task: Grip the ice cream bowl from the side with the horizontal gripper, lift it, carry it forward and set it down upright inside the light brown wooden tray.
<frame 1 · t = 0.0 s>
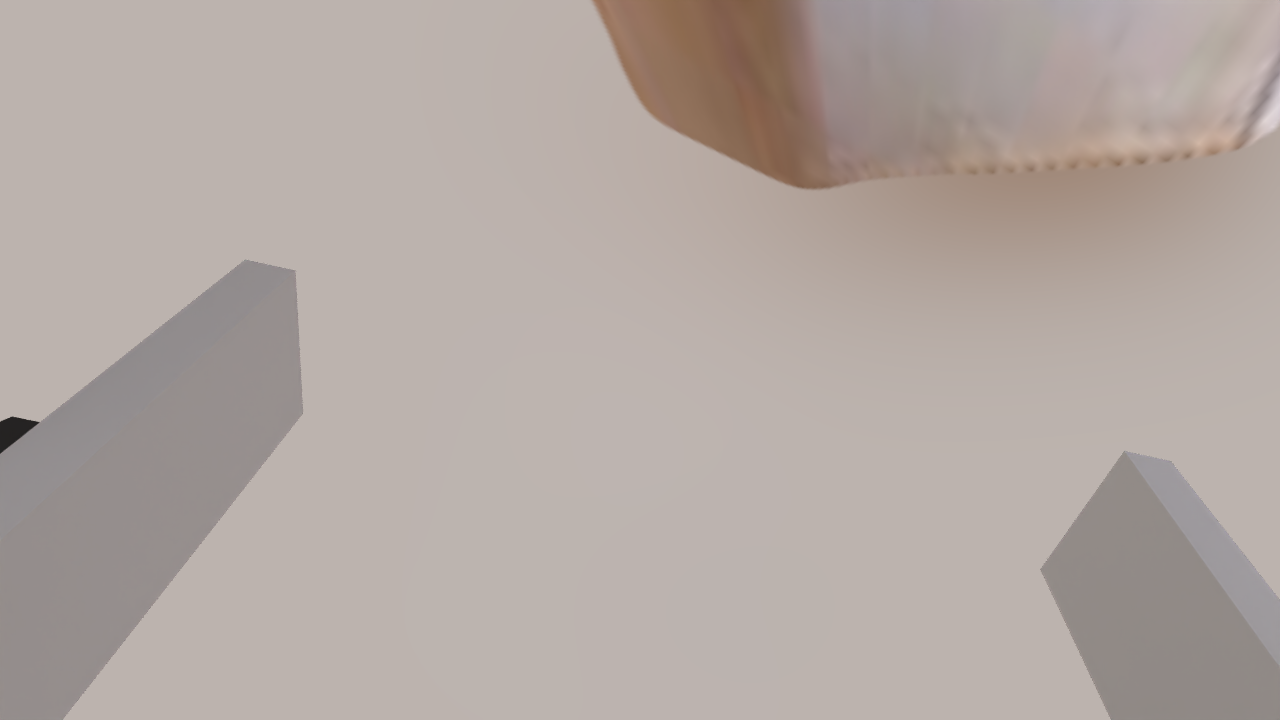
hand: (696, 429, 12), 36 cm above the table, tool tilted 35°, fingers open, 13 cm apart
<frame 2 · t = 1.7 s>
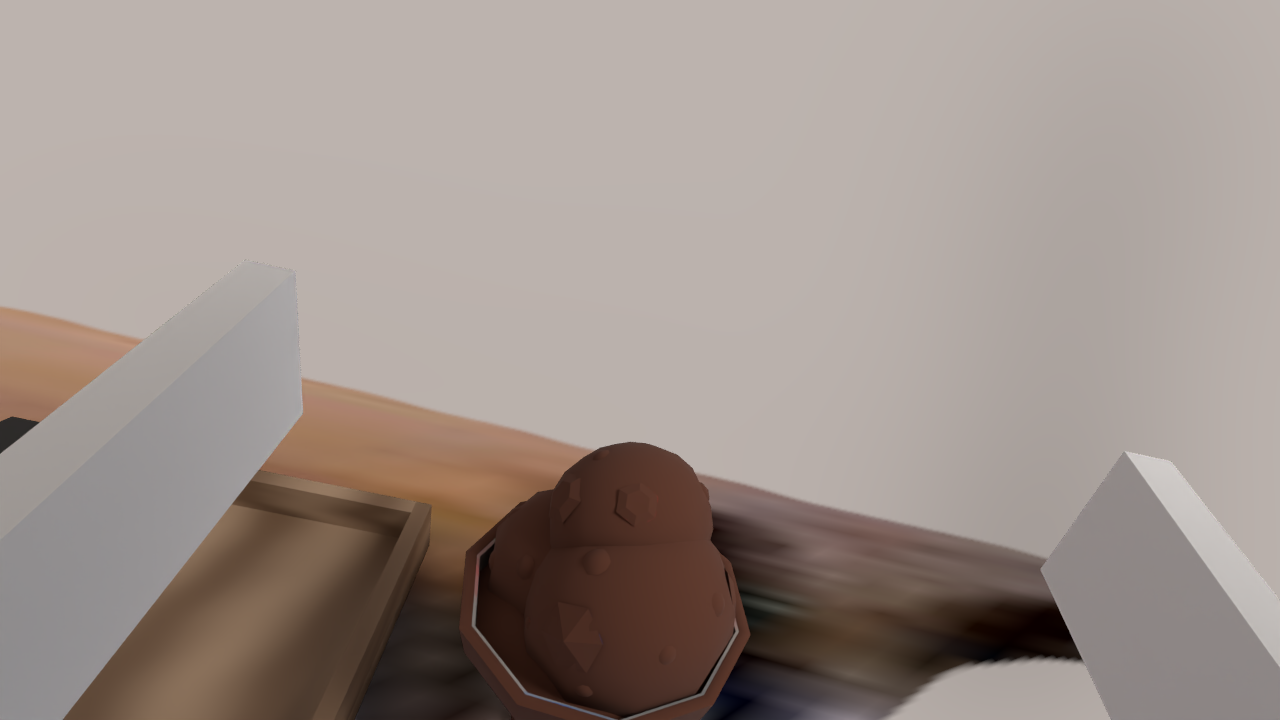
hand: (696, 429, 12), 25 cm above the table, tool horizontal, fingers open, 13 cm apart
light brown wooden tray: (165, 654, 33), on the table
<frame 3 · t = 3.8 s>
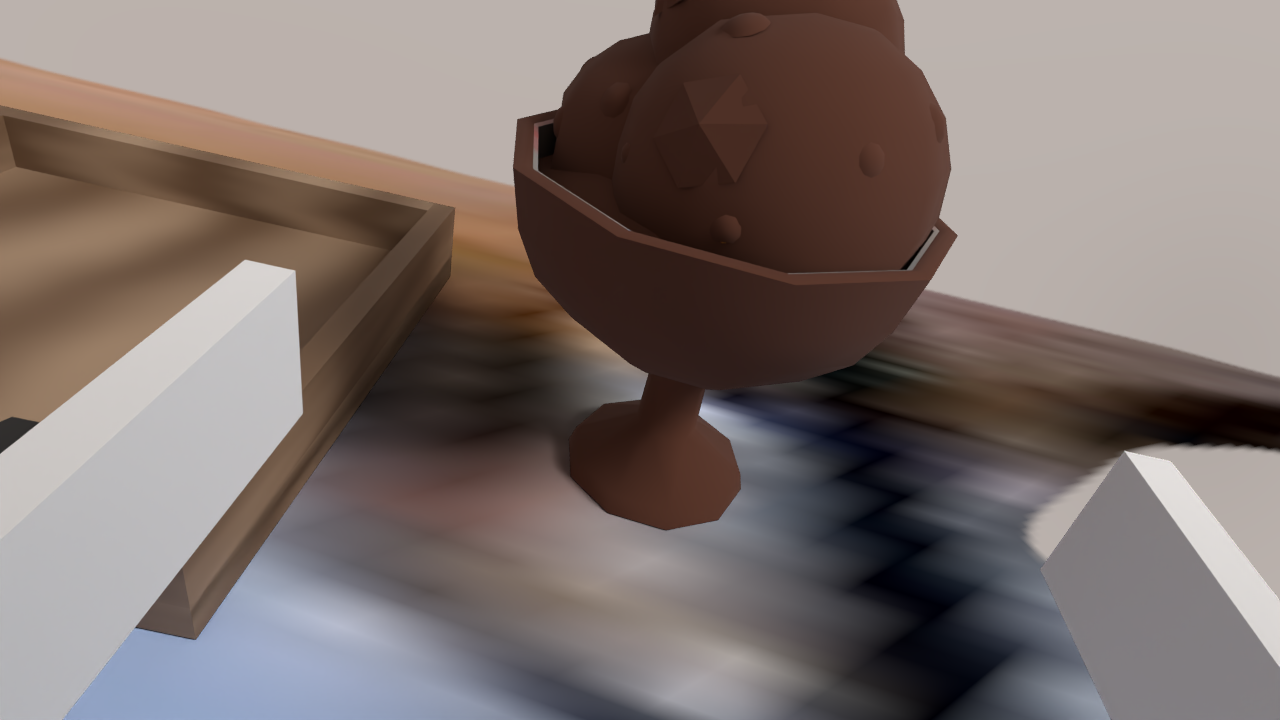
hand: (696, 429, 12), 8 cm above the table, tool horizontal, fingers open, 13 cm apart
light brown wooden tray: (79, 338, 23), on the table
ice cream bowl: (652, 468, 24), on the table
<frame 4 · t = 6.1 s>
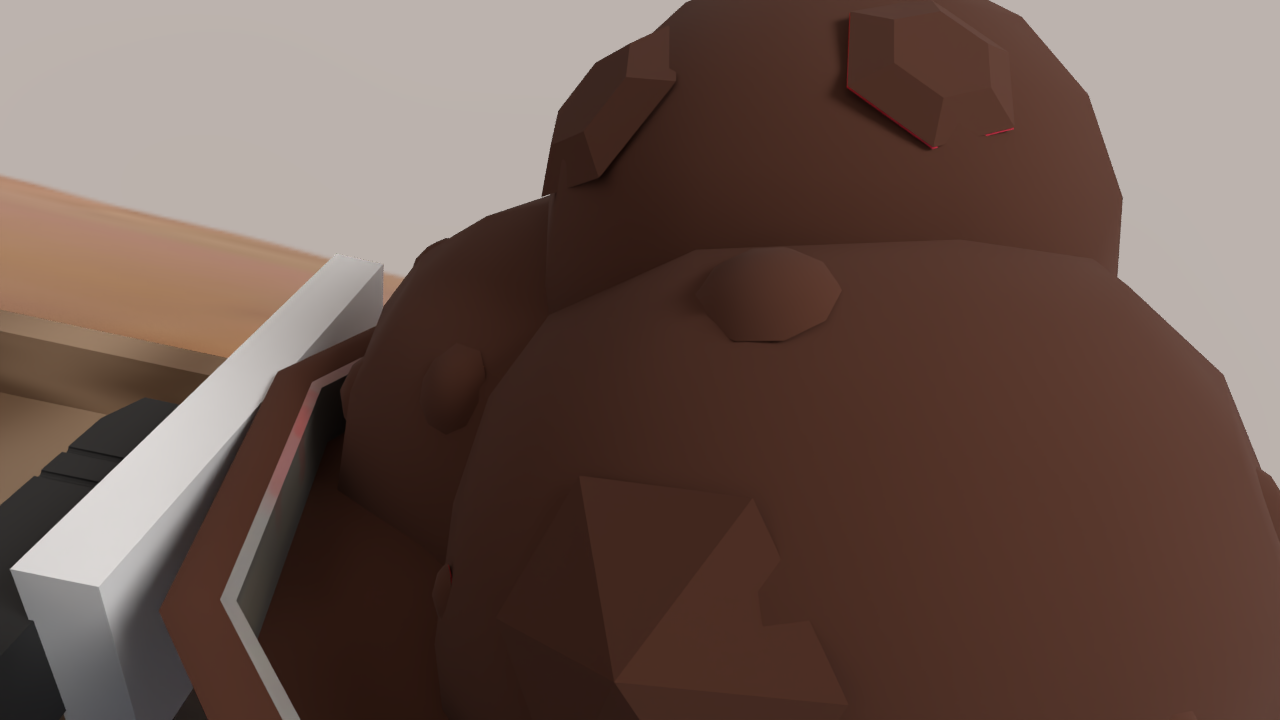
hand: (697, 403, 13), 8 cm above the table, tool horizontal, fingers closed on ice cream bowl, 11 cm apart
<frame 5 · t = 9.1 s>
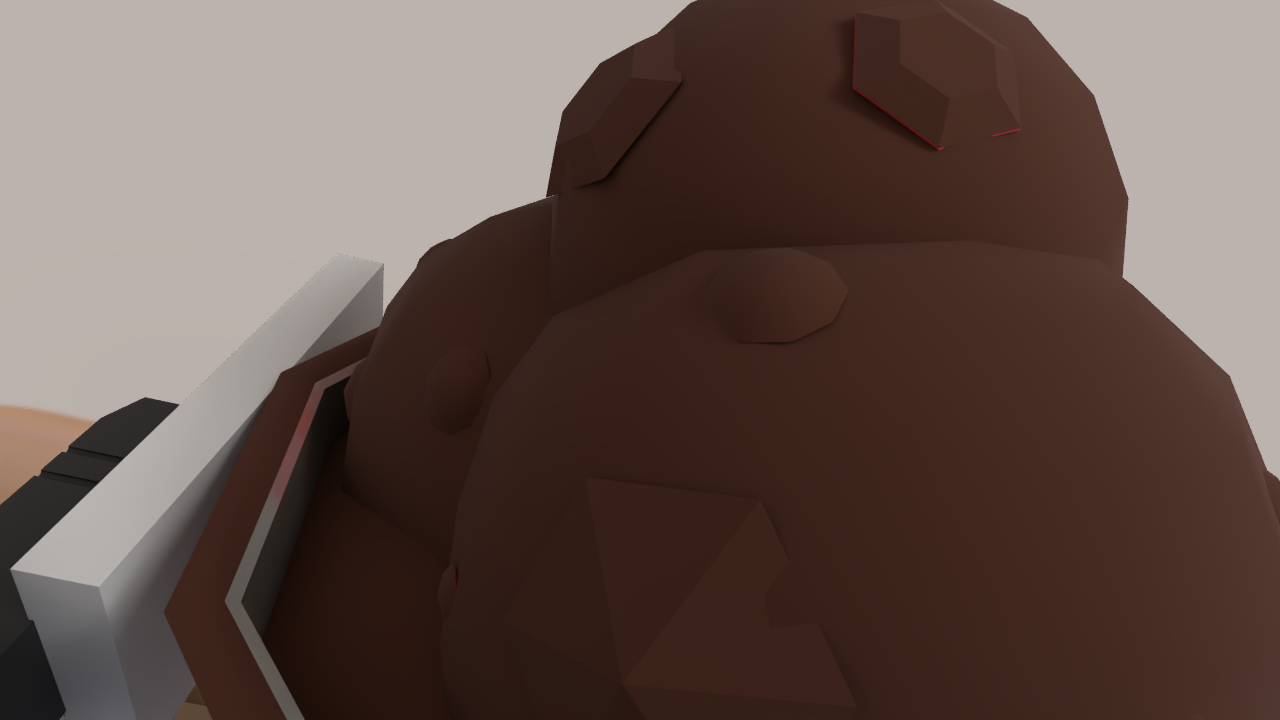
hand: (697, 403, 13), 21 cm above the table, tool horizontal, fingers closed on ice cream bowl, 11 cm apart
when the fingers open (10 cm above the table, at t = 12.0 s): ice cream bowl drops 1 cm, resting on light brown wooden tray.
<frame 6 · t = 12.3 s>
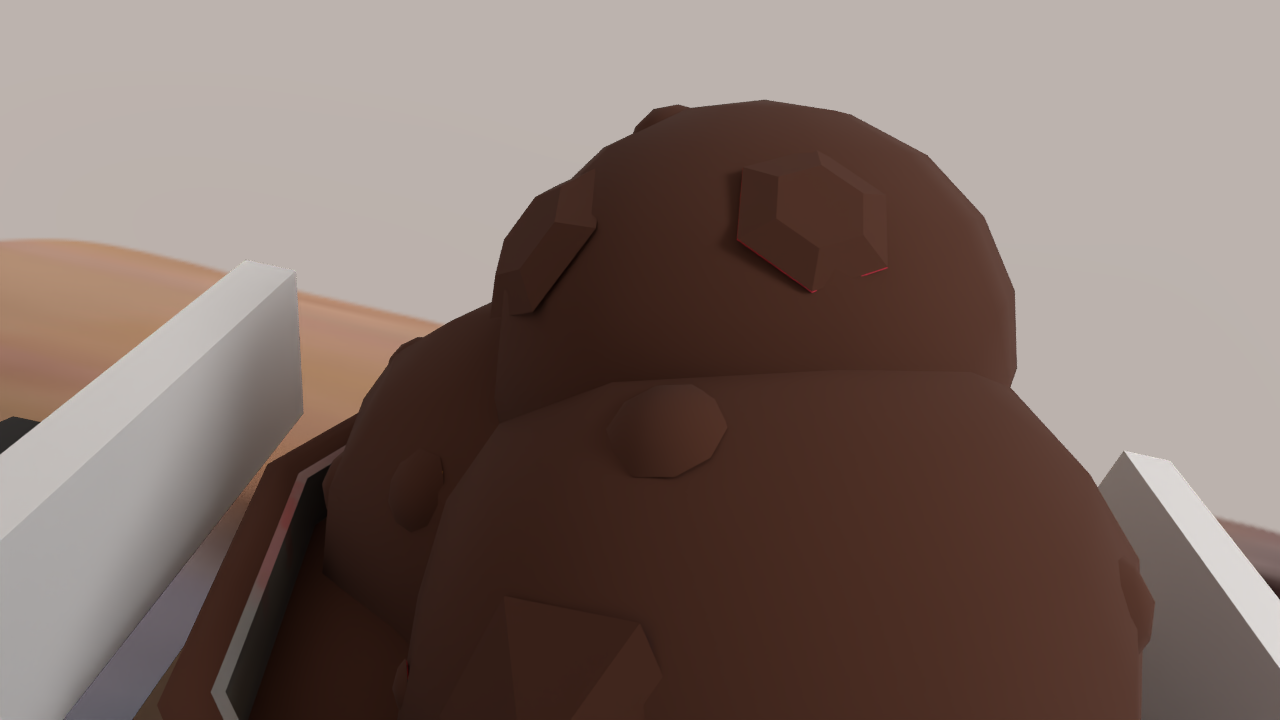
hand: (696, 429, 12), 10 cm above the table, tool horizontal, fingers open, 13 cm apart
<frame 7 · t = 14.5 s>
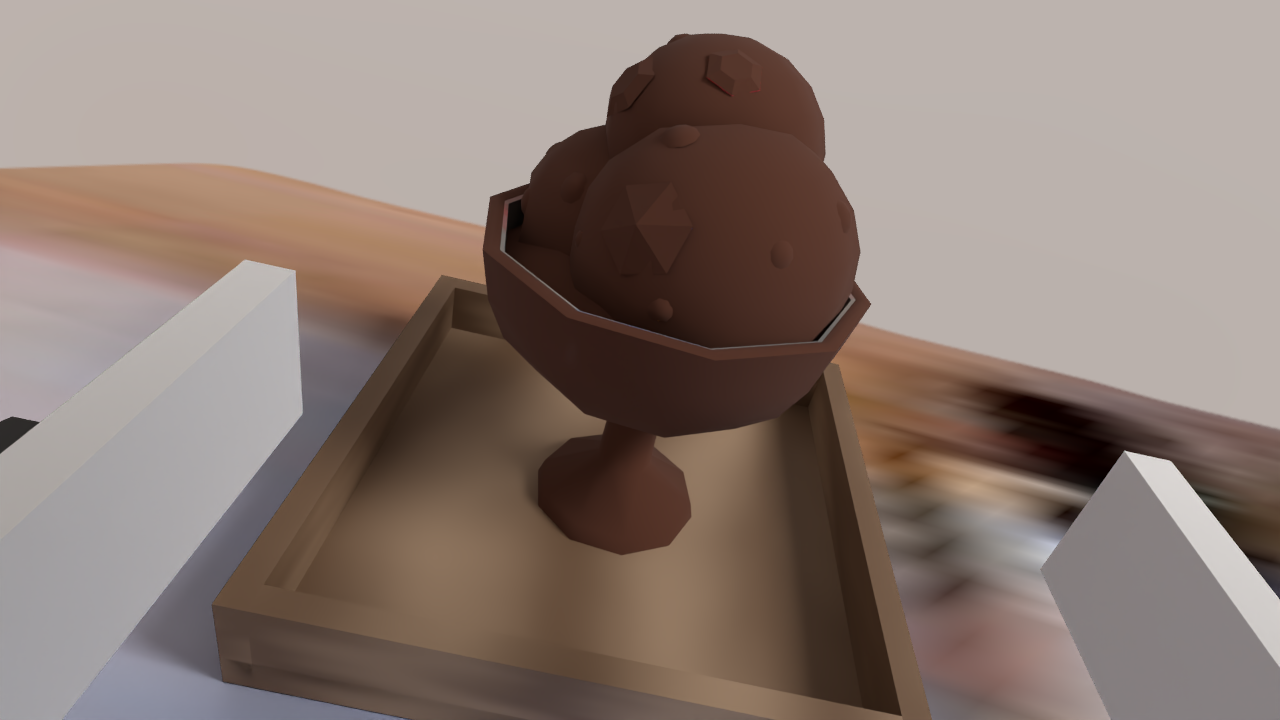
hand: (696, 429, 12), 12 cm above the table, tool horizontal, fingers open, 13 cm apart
light brown wooden tray: (605, 511, 27), on the table
ice cream bowl: (613, 497, 26), point 1 cm above the table, touching light brown wooden tray
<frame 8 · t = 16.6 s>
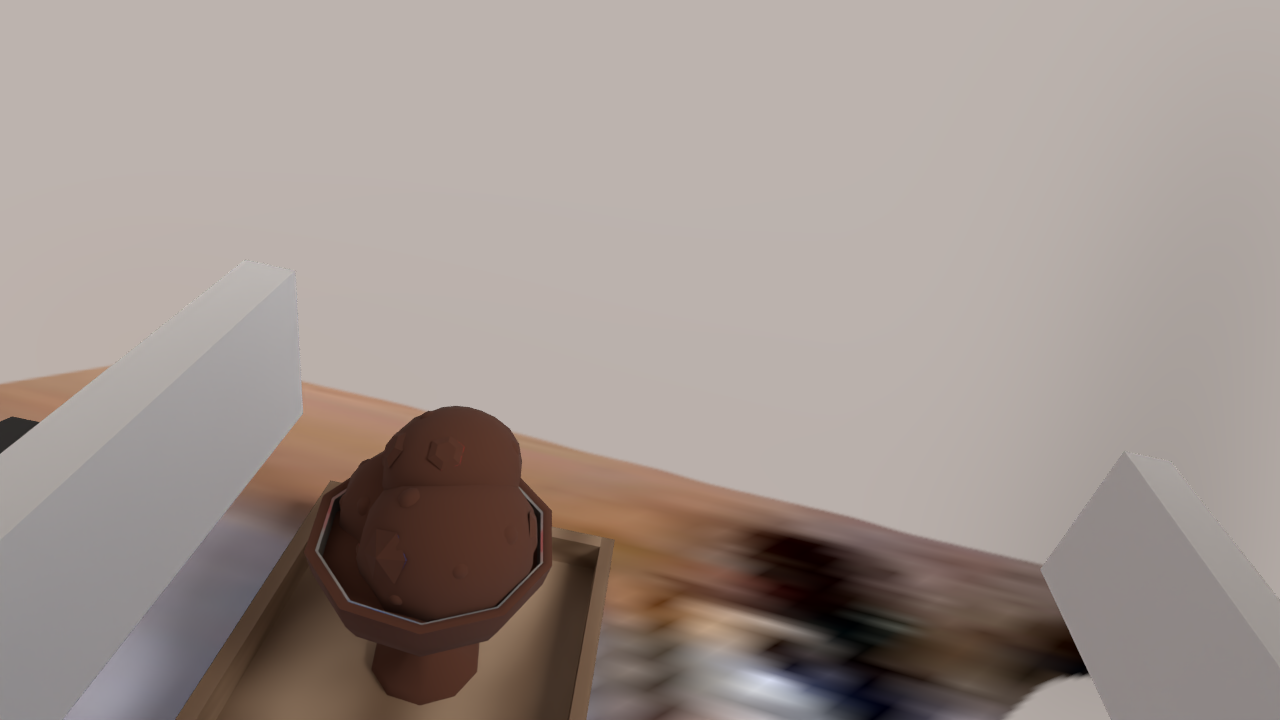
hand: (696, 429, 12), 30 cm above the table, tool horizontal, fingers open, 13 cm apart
light brown wooden tray: (424, 665, 40), on the table
ice cream bowl: (426, 658, 40), point 1 cm above the table, touching light brown wooden tray
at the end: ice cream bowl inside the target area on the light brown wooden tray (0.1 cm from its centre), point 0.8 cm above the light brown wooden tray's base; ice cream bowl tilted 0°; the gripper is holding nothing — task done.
